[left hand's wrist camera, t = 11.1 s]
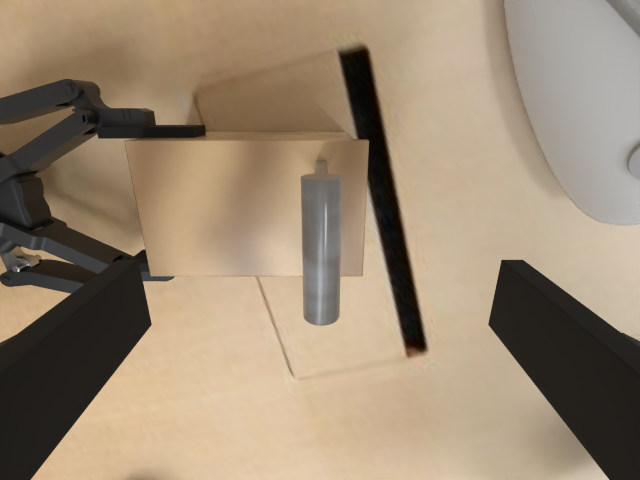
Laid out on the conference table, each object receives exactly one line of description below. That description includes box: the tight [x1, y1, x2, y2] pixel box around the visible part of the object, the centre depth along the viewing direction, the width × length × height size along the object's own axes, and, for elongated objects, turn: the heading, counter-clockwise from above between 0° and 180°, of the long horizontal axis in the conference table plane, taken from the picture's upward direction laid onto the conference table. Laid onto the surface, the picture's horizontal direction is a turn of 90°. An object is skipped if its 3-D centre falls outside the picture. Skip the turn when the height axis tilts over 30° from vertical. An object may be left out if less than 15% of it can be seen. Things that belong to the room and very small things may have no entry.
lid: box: [125, 139, 369, 326], centre depth 20 cm, size 15×9×8 cm, turn 90°
